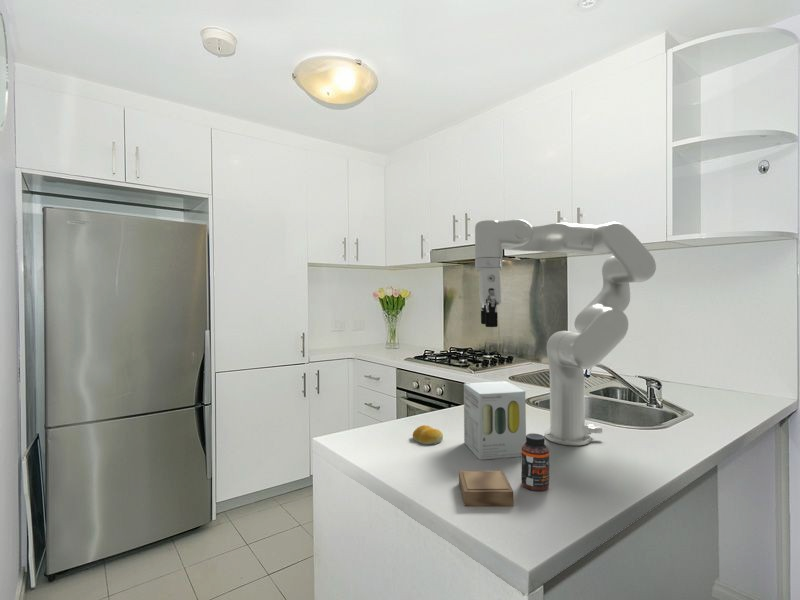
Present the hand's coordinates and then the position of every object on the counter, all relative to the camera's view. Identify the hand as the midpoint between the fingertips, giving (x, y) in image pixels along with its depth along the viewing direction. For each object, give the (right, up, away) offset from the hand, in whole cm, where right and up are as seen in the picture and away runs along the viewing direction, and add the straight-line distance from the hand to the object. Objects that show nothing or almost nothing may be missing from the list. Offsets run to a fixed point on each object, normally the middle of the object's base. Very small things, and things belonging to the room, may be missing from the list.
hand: (488, 325), depth 121 cm
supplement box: (+1, -34, -3) cm, 34 cm away
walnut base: (-7, -35, -29) cm, 46 cm away
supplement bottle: (+5, -35, -25) cm, 43 cm away
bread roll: (-17, -35, +6) cm, 39 cm away
